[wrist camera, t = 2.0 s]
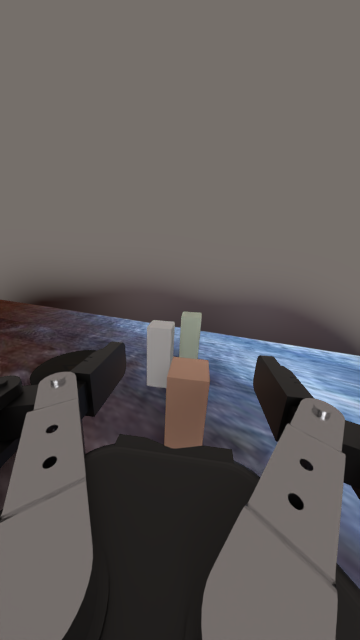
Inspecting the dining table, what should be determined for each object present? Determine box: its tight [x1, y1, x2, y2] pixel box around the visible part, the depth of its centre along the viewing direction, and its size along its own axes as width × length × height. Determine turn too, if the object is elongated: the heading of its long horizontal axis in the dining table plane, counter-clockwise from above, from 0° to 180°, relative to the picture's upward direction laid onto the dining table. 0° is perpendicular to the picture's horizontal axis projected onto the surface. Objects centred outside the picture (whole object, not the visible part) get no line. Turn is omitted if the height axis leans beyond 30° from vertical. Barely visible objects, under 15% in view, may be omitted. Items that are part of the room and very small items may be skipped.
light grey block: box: [147, 320, 175, 388], centre depth 42 cm, size 5×5×14 cm
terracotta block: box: [164, 357, 210, 449], centre depth 26 cm, size 5×5×14 cm
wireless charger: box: [30, 350, 96, 385], centre depth 45 cm, size 18×18×2 cm
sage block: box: [179, 312, 201, 359], centre depth 51 cm, size 5×5×14 cm
